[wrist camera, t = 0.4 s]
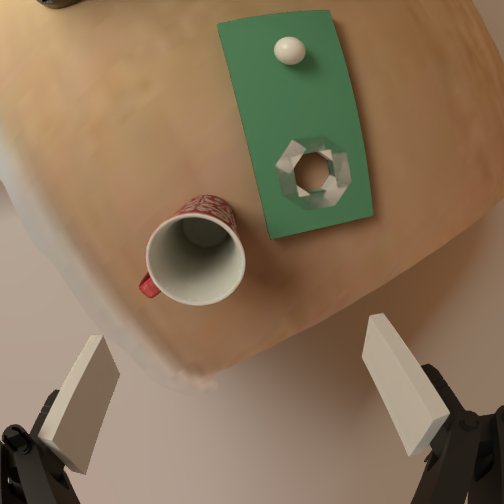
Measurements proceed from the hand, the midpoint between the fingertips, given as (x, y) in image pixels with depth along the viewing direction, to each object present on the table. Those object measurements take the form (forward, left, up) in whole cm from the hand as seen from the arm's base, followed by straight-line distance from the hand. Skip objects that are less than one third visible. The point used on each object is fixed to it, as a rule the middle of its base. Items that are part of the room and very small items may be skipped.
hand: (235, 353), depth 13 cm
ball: (-18, +11, -22) cm, 31 cm away
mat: (-10, +11, -27) cm, 30 cm away
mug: (+1, -5, -27) cm, 27 cm away
